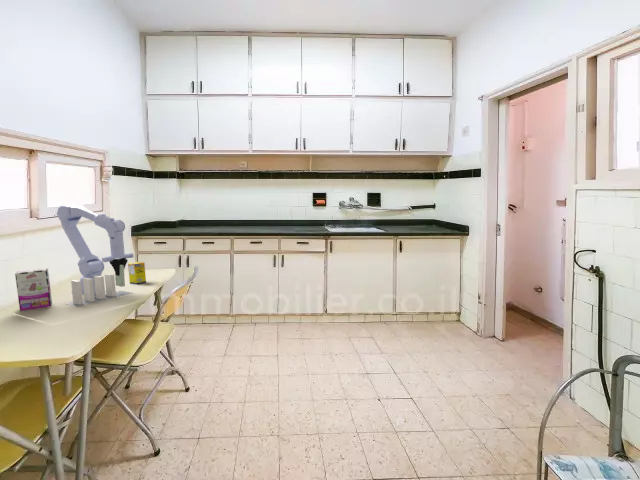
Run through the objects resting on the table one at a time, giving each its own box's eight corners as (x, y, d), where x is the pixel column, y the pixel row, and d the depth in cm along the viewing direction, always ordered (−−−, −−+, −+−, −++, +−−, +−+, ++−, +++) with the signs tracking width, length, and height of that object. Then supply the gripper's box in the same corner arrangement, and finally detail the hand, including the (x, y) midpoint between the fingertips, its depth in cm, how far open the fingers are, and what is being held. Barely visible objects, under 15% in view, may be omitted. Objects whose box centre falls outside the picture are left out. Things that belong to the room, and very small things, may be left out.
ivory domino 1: (79, 304, 178) (77, 281, 177) (73, 303, 181) (71, 280, 180) (83, 303, 180) (81, 281, 178) (77, 302, 182) (74, 280, 181)
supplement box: (146, 282, 223) (144, 262, 221) (136, 284, 218) (134, 264, 216) (139, 281, 226) (137, 261, 224) (129, 283, 221) (127, 263, 219)
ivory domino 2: (91, 301, 183) (89, 279, 181) (84, 300, 185) (82, 278, 184) (94, 301, 184) (92, 278, 183) (88, 299, 187) (86, 277, 185)
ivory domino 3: (102, 299, 187) (100, 277, 186) (95, 297, 189) (93, 276, 188) (105, 298, 188) (103, 276, 187) (99, 297, 191) (97, 275, 190)
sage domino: (121, 286, 195) (120, 265, 193) (115, 285, 198) (114, 264, 196) (124, 286, 196) (123, 265, 195) (119, 284, 199) (117, 263, 197)
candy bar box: (52, 305, 181) (48, 268, 179) (51, 308, 177) (47, 269, 175) (21, 309, 176) (16, 271, 174) (19, 312, 172) (14, 273, 170)
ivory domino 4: (112, 296, 191) (110, 275, 190) (106, 295, 194) (104, 274, 192) (116, 295, 192) (114, 274, 191) (109, 294, 195) (107, 273, 194)
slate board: (77, 308, 175) (77, 306, 175) (65, 305, 181) (65, 303, 180) (133, 294, 197) (133, 292, 197) (121, 291, 202) (120, 290, 202)
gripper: (107, 248, 186) (110, 278, 188) (136, 244, 198) (138, 272, 200) (98, 248, 190) (101, 277, 192) (127, 244, 202) (129, 271, 204)
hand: (119, 275), depth 196 cm, fingers closed on sage domino, 1 cm apart
